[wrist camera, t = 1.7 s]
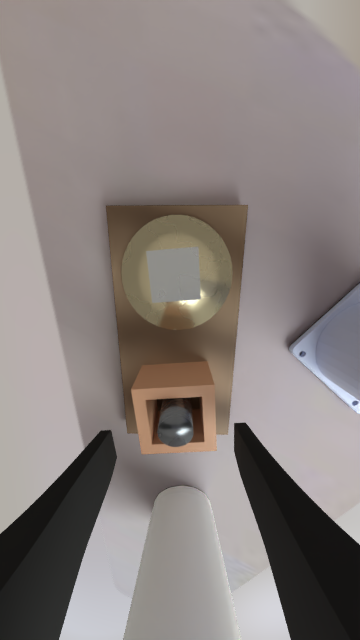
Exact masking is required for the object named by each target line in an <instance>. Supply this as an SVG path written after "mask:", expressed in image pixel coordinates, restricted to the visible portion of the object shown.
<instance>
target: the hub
mask: <svg viewBox="0 0 360 640" xmlns="http://www.w3.org/2000/svg"><path fill="white" fill-rule="evenodd" d="M232 273H233V272H232V262H231V257H230V254H229V251H228V249H227V247H226V245H225V243H224V241H223V240H222V238H221V237H220V235H219V234H218V233H217V232H216V231H215V230H214V229H213V228H212V227H210V226H209V225H208V224H206V223H205V222H203V221H201V220H199V219H196V218H194V217H190V216H186V215H168V216H163V217H160V218H157V219H155V220H153V221H151V222H149V223H147V224H146V225H144V226H143V227H142V228H141V229H140V230H139V231H138V232H137V233H136V234H135V235H134V236H133V238H132V239H131V241H130V242H129V244H128V246H127V248H126V250H125V253H124V257H123V261H122V271H121V275H122V283H123V288H124V291H125V294H126V296H127V298H128V300H129V302H130V304H131V305H132V307H133V308H134V309H135V310H136V312H137V313H138V314H139V315H141V316H142V317H143V318H144V319H145V320H147V321H148V322H150V323H152V324H154V325H156V326H159V327H161V328H165V329H171V330H183V329H189V328H193V327H196V326H198V325H201V324H202V323H204V322H206V321H207V320H209V319H210V318H212V317H213V316H214V315H215V314H216V313H217V312H218V311H219V309H220V308H221V307H222V305H223V304H224V302H225V301H226V298H227V296H228V294H229V291H230V288H231V283H232Z"/></svg>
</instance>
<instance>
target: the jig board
mask: <svg viewBox="0 0 360 640" xmlns="http://www.w3.org/2000/svg"><path fill="white" fill-rule="evenodd" d="M247 210H248V205H145V206H106V212H107V222H108V233H109V244H110V254H111V265H112V275H113V286H114V297H115V307H116V318H117V329H118V339H119V350H120V361H121V371H122V382H123V392H124V403H125V414H126V424H127V433H138V429H137V423H136V417H135V411H134V405H133V399H132V393H131V388H132V386H133V384H134V382H135V380H136V378H137V375H138V373H139V371H140V369H141V367H142V365H154V364H170V363H186V362H202V361H208V365H209V368H210V371H211V374H212V378H213V381H214V384H215V412H216V434H219V435H228V427H229V415H230V404H231V392H232V381H233V370H234V358H235V347H236V336H237V324H238V313H239V301H240V290H241V279H242V267H243V256H244V245H245V233H246V222H247ZM168 215H186V216H190V217H194V218H196V219H199V220H201V221H203V222H205V223H206V224H208V225H209V226H210V227H212V228H213V229H214V230H215V231H216V232H217V233H218V234H219V235H220V237H221V238H222V240H223V241H224V243H225V245H226V247H227V249H228V251H229V254H230V257H231V262H232V272H233V273H232V283H231V288H230V291H229V294H228V296H227V298H226V301H225V302H224V304H223V305H222V307H221V308H220V309H219V311H218V312H217V313H216V314H215V315H214V316H213V317H212V318H210V319H209V320H207V321H206V322H204V323H202V324H201V325H198V326H196V327H193V328H189V329H183V330H171V329H165V328H161V327H159V326H156V325H154V324H152V323H150V322H148V321H147V320H145V319H144V318H143V317H142V316H141V315H139V314H138V313H137V312H136V310H135V309H134V308H133V307H132V305H131V304H130V302H129V300H128V298H127V296H126V294H125V291H124V288H123V283H122V275H121V271H122V261H123V257H124V253H125V250H126V248H127V246H128V244H129V242H130V241H131V239H132V238H133V236H134V235H135V234H136V233H137V232H138V231H139V230H140V229H141V228H142V227H143V226H144V225H146V224H147V223H149V222H151V221H153V220H155V219H157V218H160V217H163V216H168ZM162 400H163V399H157V406H158V411H161V406H162ZM191 405H192V409H200V401H199V397H191Z"/></svg>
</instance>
